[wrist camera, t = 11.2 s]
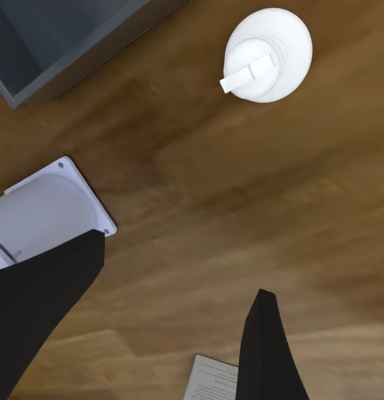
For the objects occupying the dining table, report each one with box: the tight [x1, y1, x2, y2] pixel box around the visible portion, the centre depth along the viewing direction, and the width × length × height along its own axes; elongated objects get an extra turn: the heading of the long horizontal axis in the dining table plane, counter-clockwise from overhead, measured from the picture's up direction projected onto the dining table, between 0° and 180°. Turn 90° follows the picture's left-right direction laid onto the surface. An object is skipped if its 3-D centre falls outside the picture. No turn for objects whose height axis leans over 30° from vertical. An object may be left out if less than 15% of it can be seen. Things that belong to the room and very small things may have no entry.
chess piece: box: [220, 8, 312, 103], centre depth 13 cm, size 5×5×10 cm
